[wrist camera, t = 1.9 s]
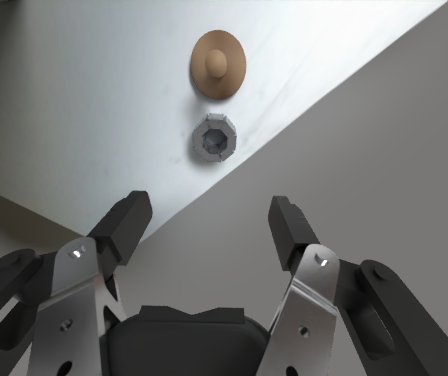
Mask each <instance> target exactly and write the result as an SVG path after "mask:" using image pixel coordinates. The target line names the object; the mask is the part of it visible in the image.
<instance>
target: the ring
mask: <svg viewBox="0 0 448 376" xmlns="http://www.w3.org/2000/svg"><path fill="white" fill-rule="evenodd" d="M223 117H224V114H209V115H208V114H207V115H206V116H205V117H204V118H203V119H202V120H201V121H200V122H199V123H198V125H197V126H196V128H195V130H194V132H193V144H194V148H196V149H195V151H196V152H197V153H198V154H199V155H200V156H201V157H202V158H203V159H204V160H206V159H207V161H212V162H221V159H222V160H223V161H224V160H226V159H227V158H228V157H229V156H230V155H232V154H233V153H234V150H235V148H236V138H237V135H236V130H235V126H234V125H233V124H232V123H231V121H230V120H229V119H228V118H227V116H225V117H224V118H223ZM209 129H221V130H222V131H223V133H224V134H225V135H226V136H227V140H226V141H224V142H223V143H222V144H221V145H211V144H210V143H209V142H208V141H207V140H206V139H205V132H207V131H208V130H209Z"/></svg>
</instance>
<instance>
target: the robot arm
mask: <svg viewBox="0 0 448 376" xmlns="http://www.w3.org/2000/svg"><path fill="white" fill-rule="evenodd" d="M2 1H9V0H0V2H2ZM152 213H153V212H152V207H151V203H150V200H149V196H148V193H147V192H146V191H132V192H131V193H130V194H129V195H128V196H127V197H126V198H123V199H122V200H120V201H119V202H117V203H116V204H115V205H114V206H113V207H112V208H111V209H110V211H108V213H107V214H106V215H105V216H104V217H103V218H102V219H101V220H100V222H99V223H98V224H97V225H96V226H95V227H94V228H93V230H92V231H91V232H90V233H89V234H88V235H87V236H86V237H82V238H78V239H75V240H73V241H71V242H69V243H68V244H66V245H65V246H63V247H62V248H61V249H60V250H59V251H57V252H52V253H48V254H43V255H38V254H37V253H36V252H35V251H34V250H32V249H21V250H17V251H14V252H12V253H9V254H7V255H5V256H3V257H2V258H0V310H1V309H2V307H3V306H4V305H5V304H6V303H7V302H8V301H9V300H10V299H11V297H14V298H15V299H17V300H18V301H19V302H18V303H17V304H16V305H15V306H14V308H13V309H12V310H11V311H10V312H9V313H8V314H7V316H6V317H5V318H4V319H3V320H2V321H1V322H0V376H8V375H9V374H10V373H11V371H12V370H13V368H14V367H15V365H16V364H17V362H18V361H19V360H20V358H21V357H22V355H23V354H24V352H25V351H26V349H27V348H28V346H29V345H30V344H31V342H32V346H31V352H30V358H29V364H28V371H27V376H328V370H329V363H330V357H331V351H332V345H333V339H334V332H335V325H336V318H337V311H336V309H335V308H333V305H334V306H337V307H338V309H339V312H340V314H341V316H342V318H343V321H344V323H345V325H346V328H347V330H348V332H349V335H350V337H351V339H352V341H353V344H354V346H355V348H356V351H357V353H358V355H359V358H360V360H361V362H362V364H363V367H364V369H365V371H366V374H367V376H448V337H447V335H446V334H445V333H444V332H443V331H442V329H441V328H440V327H439V326H438V324H437V323H436V322H435V321H434V319H433V318H432V317H431V316H430V315H429V313H428V312H427V311H426V310H425V308H424V307H423V306H422V305H421V304H420V303H419V301H418V300H417V299H416V297H415V296H414V295H413V294H412V292H411V291H410V290H409V289H408V288H407V286H406V285H405V284H404V283H403V282H402V280H401V279H400V278H399V277H398V275H397V274H396V273H395V272H393V271H392V270H391V269H390V268H389V267H387V266H385V265H384V264H382V263H379V262H377V261H374V260H364V261H363V262H362V263H361V264H360V265H357V264H353V263H350V262H347V261H343V260H341V259H338V258H337V256H336V255H335V254H334V253H333V252H332V251H331V250H330V249H328V248H327V247H325V246H322V245H321V244H320V242H319V241H318V239H317V237H316V235H315V234H314V232H313V230H312V228H311V227H310V225H309V224H308V221H307V220H306V218H305V216H304V214H303V213H302V211H301V210H300V209H299V208H298V207H297V206H296V205H295V204H290V202H289V200H288V198H287V197H286V196H273V198H272V202H271V206H270V210H269V214H268V222H269V225H270V229H271V232H272V236H273V239H274V243H275V245H276V249H277V252H278V256H279V260H280V263H281V266H282V270H283V271H290V273H291V275H292V277H291V279H290V281H289V284H288V286H287V288H286V291H285V293H284V296H283V298H282V300H281V303H280V305H279V307H278V310H277V312H276V314H275V316H274V319H273V320H272V322H271V325H270V327H269V329H268V331H267V330H266V329H265V328H264V327H263V326H261V325H260V324H259V323H258V322H256V321H255V320H253V319H251V318H249V317H246V316H244V308H216V309H212V310H209V311H205V312H202V313H198V314H194V315H190V314H187V313H184V312H182V311H179V310H176V309H174V308H171V307H168V306H142V307H141V310H140V312H139V314H137V315H134V316H132V317H129V318H128V319H127V318H126V315H125V312H124V310H123V308H122V304H121V299H120V294H119V289H118V284H117V279H116V274H115V271H114V270H115V268H116V267H117V265H124V266H126V265H127V263H128V261H129V259H130V257H131V256H132V254H133V252H134V250H135V248H136V246H137V244H138V243H139V241H140V239H141V237H142V235H143V233H144V231H145V229H146V228H147V226H148V224H149V222H150V220H151V218H152ZM376 312H377V313H376ZM377 314H378V315H379V317H380V318H379V317H378V315H377ZM380 319H381V320H382V322H383V323H382V322H381V320H380ZM383 324H384V325H383ZM384 326H385V327H386V328H385V327H384ZM386 329H387V330H388V332H389V333H388V332H387V330H386ZM389 334H390V335H389ZM390 336H391V337H392V339H393V340H392V339H391V337H390Z"/></svg>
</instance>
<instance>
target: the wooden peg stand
mask: <svg viewBox="0 0 448 376" xmlns="http://www.w3.org/2000/svg"><path fill="white" fill-rule="evenodd" d="M191 72H192V76H193V79H194V82H195V84H196V85H197V87H198V88H199V90H200V91H201V92H202V93H203V94H205V95H206V96H208V97H210V98H213V99H225V98H228V97H230V96H232V95H233V94H234V93H235V92H236V91H237V90H238V89H239V88H240V86H241V84H242V82H243V80H244V77H245V73H246V58H245V54H244V51H243V48H242V46H241V44H240V43H239V41H238V40H237V39H236V38H235V37H234V36H233V35H231V34H230V33H228V32H226V31H222V30H214V31H210V32H208V33H206V34H205V35H203V36H202V37H201V38H200V39H199V40H198V42H197V43H196V45H195V47H194V49H193V52H192V56H191Z"/></svg>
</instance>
